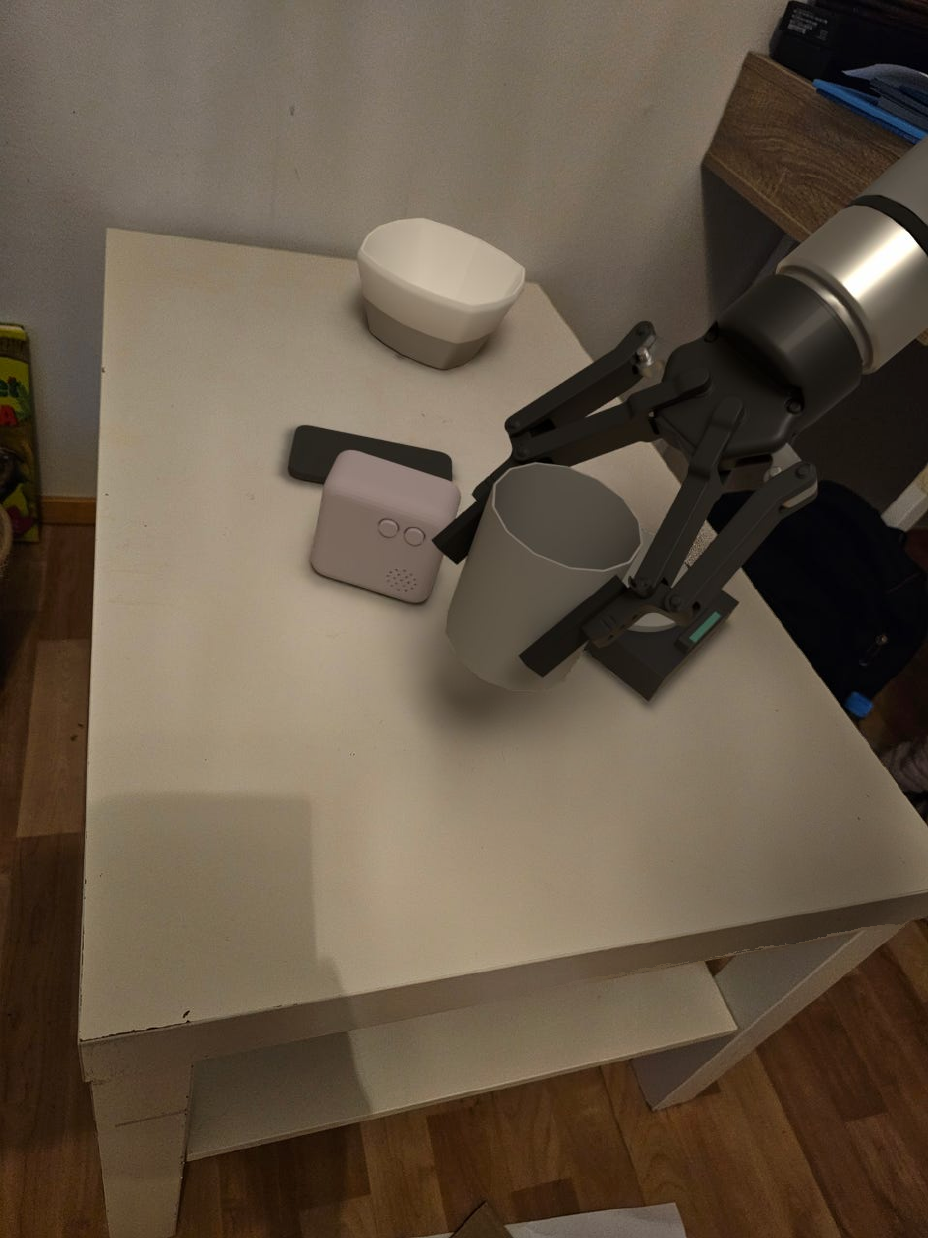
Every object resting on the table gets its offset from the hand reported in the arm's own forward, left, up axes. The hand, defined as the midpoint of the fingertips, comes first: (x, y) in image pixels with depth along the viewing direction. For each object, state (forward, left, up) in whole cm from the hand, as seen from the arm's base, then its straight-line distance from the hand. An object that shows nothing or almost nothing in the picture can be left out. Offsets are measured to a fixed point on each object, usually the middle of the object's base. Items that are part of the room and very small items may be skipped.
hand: (485, 607), depth 46 cm
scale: (0, -26, -16) cm, 30 cm away
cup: (-1, -3, -4) cm, 5 cm away
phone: (+25, -20, -16) cm, 35 cm away
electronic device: (+15, -10, -16) cm, 24 cm away
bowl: (+39, -43, -16) cm, 60 cm away
